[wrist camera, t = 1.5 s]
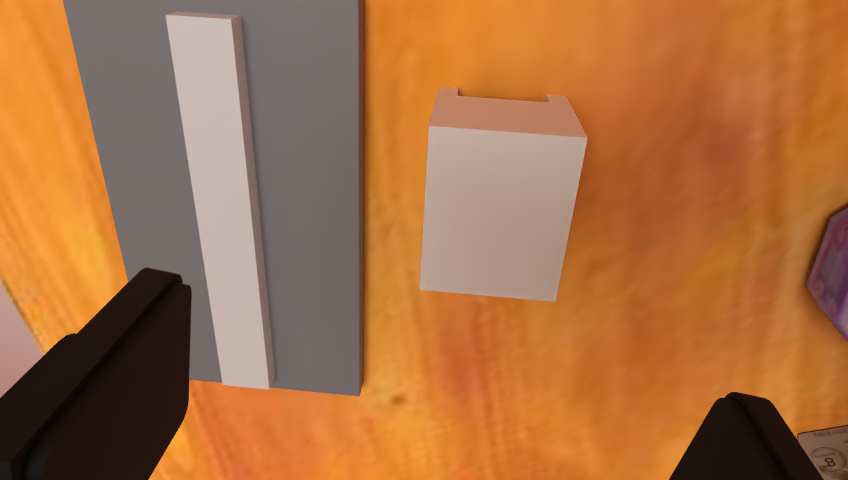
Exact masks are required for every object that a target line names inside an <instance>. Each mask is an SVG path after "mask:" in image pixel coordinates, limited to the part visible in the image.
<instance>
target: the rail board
mask: <svg viewBox="0 0 848 480" xmlns="http://www.w3.org/2000/svg"><path fill="white" fill-rule="evenodd" d="M63 3H64V7H65V11H66V16H67V20H68V24H69V29H70V33H71V37H72V42H73V46H74V50H75V54H76V59H77V63H78V67H79V72H80V76H81V80H82V85H83V89H84V93H85V97H86V102H87V106H88V110H89V115H90V119H91V123H92V128H93V132H94V136H95V140H96V145H97V149H98V153H99V158H100V162H101V166H102V171H103V175H104V179H105V183H106V188H107V192H108V196H109V201H110V205H111V209H112V214H113V218H114V222H115V226H116V231H117V235H118V239H119V244H120V248H121V252H122V257H123V261H124V265H125V269H126V274H127V278H128V282H129V281H130V280H131V279H132V278H133V277H134V276H135V275H136V274H137V273H138V272H139V271H140V270H142V269H143V268H147V267H148V268H153V269H157V270H162V271H167V272H171V273H176V274H179V275H181V277H182V280H183V284H187V285H190V286H191V290H192V301H191V334H190V367H189V379H190V380H200V381H210V382H220V383H222V384H223V385H229V386H239V387H249V388H259V389H270V387H271V388H281V389H291V390H301V391H311V392H322V393H332V394H342V395H352V396H360V392H361V388H362V384H363V289H364V0H63Z"/></svg>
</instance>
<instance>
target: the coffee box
mask: <svg viewBox="0 0 848 480" xmlns="http://www.w3.org/2000/svg"><path fill="white" fill-rule="evenodd" d="M798 442H799V443H800V445H801V446H802V448H803V449H804V451H805V452H806V454H807V455H808V457H809V458H810V460H811V461H812V463H813V464H814V466H815V467H816V469H817V470H818V472H819V473H820V475H821V476H822V478H823V479H824V480H848V426H845V427H838V428H832V429H826V430H820V431H813V432H807V433H801V434H798Z"/></svg>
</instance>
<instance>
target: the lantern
mask: <svg viewBox="0 0 848 480" xmlns="http://www.w3.org/2000/svg"><path fill="white" fill-rule="evenodd" d="M806 287H807V288H808V290H809V292H810V293H811V295H812V296H813V298H814V300H815V301H816V303H817V305H818V306H819V308H820V309H821V310H822V311H823V312H824V314H825V315H826V316H827V317H828V318H829V320H830V321H831V322H832V323H833V325H834V326H835V327H836V328H837V329H838V331H839V332H840V333H841V334H842V335H843V337H844V338H845V339H846V340H847V341H848V207H847V208H846V209H844V210H843V211H841V212H839V213H838V214H836V215H835V216H833V217H831V220H830V222H829V225H828V228H827V230H826V233H825V236H824V238H823V241H822V244H821V246H820V249H819V252H818V254H817V257H816V260H815V263H814V265H813V268H812V271H811V273H810V276H809V279H808V281H807V284H806Z"/></svg>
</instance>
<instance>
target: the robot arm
mask: <svg viewBox="0 0 848 480" xmlns="http://www.w3.org/2000/svg"><path fill="white" fill-rule="evenodd" d="M191 301H192V290H191V286H190V285H187V284H183V280H182V277H181V275H179V274H176V273H171V272H167V271H162V270H157V269H153V268H148V267H147V268H143V269H142V270H140V271H139V272H138V273H137V274H136V275H135V276H134V277H133V278H132V279H131V280H130V281H129V282H128V283H127V284H126V285H125V286H124V287H123V288H122V289H121V290H120V291H119V292H118V293H117V294H116V295H115V296H114V297H113V298H112V299H111V300H110V301H109V302H108V303H107V304H106V305H105V306H104V307H103V308H102V309H101V310H100V311H99V312H98V313H97V314H96V315H95V316H94V317H93V318H92V319H91V320H90V321H89V322H88V323H87V324H86V325H85V326H84V327H83V328H82V329H81V330H80V331H79V332H78V333H77V334H75V333H73V334H70V335H66V336H65V337H64V338H62V339H61V340H60V341H58V342H57V343H56V344H55V345H54V346H53V347H52V348H51V349H50V350H49V351H48V352H47V353H46V354H45V355H44V356H43V357H42V358H41V359H40V360H39V361H38V362H37V363H36V364H35V365H34V366H33V367H32V368H31V369H30V370H29V371H28V372H27V373H26V374H25V375H24V376H23V377H22V378H20V379H19V380H18V381H17V382H16V383H15V384H14V385H13V386H12V388H10V389H9V390H8V391H7V392H6V393H5V394H4V395H3V396H2V397H1V398H0V480H148V479H149V478H150V476H151V474H152V473H153V471H154V469H155V467H156V466H157V464H158V462H159V461H160V459H161V457H162V456H163V454H164V452H165V451H166V449H167V447H168V445H169V444H170V442H171V440H172V439H173V437H174V435H175V434H176V432H177V430H178V429H179V427H180V425H181V423H182V421H183V419H184V417H185V414H186V411H187V407H188V400H189V367H190V334H191ZM669 480H824V479H823V478H822V476H821V475H820V473H819V472H818V470H817V469H816V467H815V466H814V464H813V463H812V461H811V460H810V458H809V457H808V455H807V454H806V452H805V451H804V449H803V448H802V446H801V445H800V443H799V442H798V440H797V439H796V438H795V436H794V435H793V433H792V432H791V430H790V429H789V427H788V426H787V424H786V423H785V421H784V420H783V418H782V417H781V415H780V414H779V412H778V411H777V409H776V408H775V406H774V405H773V404H772V403H771V402H770V401H769V400H767V399H765V398H761V397H757V396H752V395H747V394H743V393H738V392H731V393H729V394H728V395H726V397H725V398H719V399H718V400H716V402H715V403H714V404H713V406H712V408H711V409H710V411H709V413H708V415H707V416H706V418H705V420H704V421H703V423H702V425H701V426H700V428H699V430H698V431H697V433H696V435H695V437H694V438H693V440H692V442H691V443H690V445H689V447H688V448H687V450H686V452H685V453H684V455H683V457H682V459H681V460H680V462H679V464H678V465H677V467H676V469H675V470H674V472H673V474H672V475H671V477H670V479H669Z"/></svg>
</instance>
